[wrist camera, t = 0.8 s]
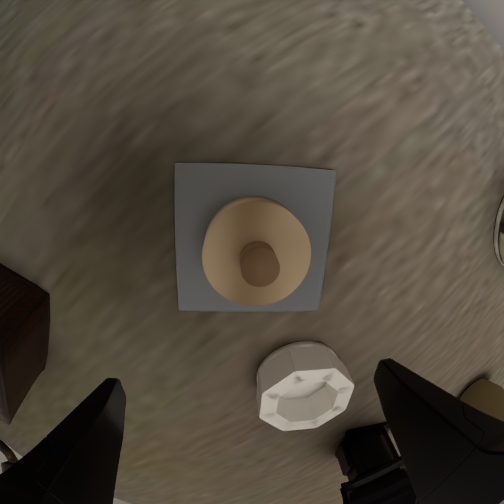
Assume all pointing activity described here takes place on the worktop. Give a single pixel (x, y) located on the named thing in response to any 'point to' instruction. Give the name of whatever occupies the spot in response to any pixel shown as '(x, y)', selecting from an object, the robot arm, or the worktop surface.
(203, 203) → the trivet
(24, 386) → the manual coffee grinder
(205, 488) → the worktop surface
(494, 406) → the squeeze bottle
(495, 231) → the coffee can
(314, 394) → the bowl
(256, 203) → the lid
